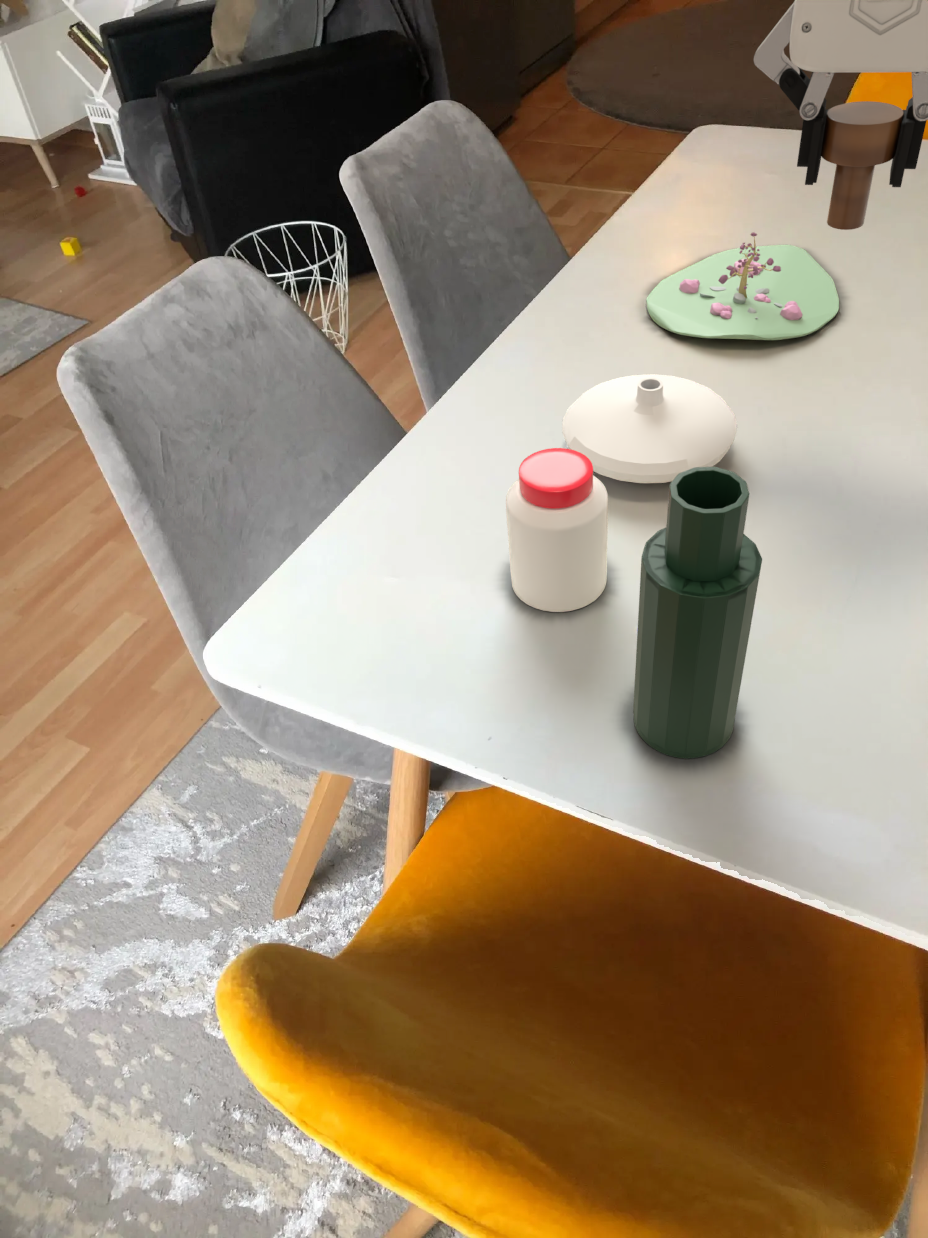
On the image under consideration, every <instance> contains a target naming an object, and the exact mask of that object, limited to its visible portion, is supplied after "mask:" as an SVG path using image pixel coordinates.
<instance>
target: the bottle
mask: <svg viewBox="0 0 928 1238" xmlns="http://www.w3.org/2000/svg"><path fill="white" fill-rule="evenodd" d="M749 500H750V490H749V487H748V482H747V481H746V480H744V479H743V478H742V477H741V476H740V475H739V474H737V473H736V472H734V471H732V470H729V469H725V468H721V467H718V466H712V467H695V468H692V469H689V470H686V471H684V472H681V473H679V474H678V475H677V476H676V477H675V478H674V480H673V481H671V482H670V484H669V486H668V500H667V514H666V525H665V527H664V528H661V529H659V530H657V531H656V532H655V533H654V534H653V535H652V536H651V537H650V538H649V539H648V540H647V541H645V544H644V548H643V550H642V554H641V560H640V561H641V563H640V577H639V597H638V612H637V613H638V614H637V615H638V616H637V617H638V618H637V633H636V649H635V650H636V651H635V668H634V669H635V671H634V687H633V688H634V689H633V706H632V707H633V708H632V709H633V710H632V713H633V723H634V727H635V730H636V731H637V734H638V735H639V737H640V738H641V739H642V740H643V741H644V742H645V743H646V745H648V746H649V747H650V748H652V749H654V750H655V751H657V752H659V753H660V754H663V755H665V756H668V757H673V758H678V759H697V758H703V757H706V756H709V755H711V754H714V753H715V752H717V751H719V750H720V749H721V748H723V747H724V746H725V745H726V744H727V743H728V741H730V738H731V736H732V734H733V731H734V726H735V720H736V714H737V710H738V709H737V708H738V702H739V697H740V691H741V685H742V680H743V675H744V674H743V673H744V668H745V661H746V656H747V650H748V644H749V639H750V633H751V628H752V622H753V617H754V609H755V603H756V598H757V593H758V587H759V582H760V581H759V580H760V576H761V575H760V574H761V569H762V563H763V557H762V555H761V552H760V550H759V548H758V546H757V544H756V542H754V541H753V540H752V539H751V538H749V537H748V536H747V535H746V534H745V526H746V520H747V513H748V507H749Z"/></svg>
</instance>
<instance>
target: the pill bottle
mask: <svg viewBox="0 0 928 1238" xmlns="http://www.w3.org/2000/svg"><path fill="white" fill-rule="evenodd" d="M505 514H506V530H507V543H508V553H509V554H508V557H509V568H510V570H509V571H510V581H511V586H512V590H513V592H514V594H515V595H516V597H518V599H520V600H521V601H522V603H525V604H526V605H528V606H530V607H532V608H533V609H537V610H540V611H542V612H543V611H544V612H551V613H565V612H570V611H575V610H579V609H582V608H585V607H586V606H589V605H590V604H592V603H593V602H595V601H596V600H597V599H598V598H599V597H600V596H601V595H602V594H603V592H604V590H605V588H606V586H607V581H608V579H607V578H608V533H609V532H608V529H609V527H608V526H609V525H608V524H609V494H608V491H607V488H606V486H605V485H604V483H603V482H602V481H601V480H600V479H599V478H597V477H596V476H595V475H594V471H593V465H592V462H591V461H590V460H589V458H587V457H586V456H585V455H584V454H582V453H580V452H578V451H575V450H571V449H569V448H564V447H552V448H551V447H550V448H545V449H540V450H538V451H536V452H532V453H531V454H530V455H527V457H525V458H524V459H523V460H522V462H520V465H519V467H518V478H517V480H515V481H514V482H512V484H511V486H510V487H509V488H508V490H507V492H506V496H505Z"/></svg>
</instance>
